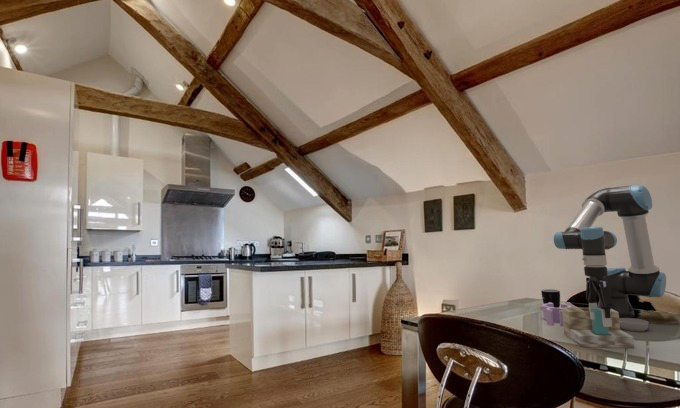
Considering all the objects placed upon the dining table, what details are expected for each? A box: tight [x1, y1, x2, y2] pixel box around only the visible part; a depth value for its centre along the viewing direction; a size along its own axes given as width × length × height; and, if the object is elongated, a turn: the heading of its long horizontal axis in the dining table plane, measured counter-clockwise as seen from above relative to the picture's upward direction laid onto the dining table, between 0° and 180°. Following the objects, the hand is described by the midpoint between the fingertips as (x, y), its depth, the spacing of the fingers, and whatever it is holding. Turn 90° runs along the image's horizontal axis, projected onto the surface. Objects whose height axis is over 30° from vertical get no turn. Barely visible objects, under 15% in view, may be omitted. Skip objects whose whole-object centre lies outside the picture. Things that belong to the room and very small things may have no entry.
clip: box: [541, 302, 573, 327], centre depth 182 cm, size 20×12×7 cm, turn 148°
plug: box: [590, 309, 609, 335], centre depth 147 cm, size 5×4×12 cm
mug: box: [541, 288, 561, 308], centre depth 206 cm, size 12×9×10 cm
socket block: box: [562, 307, 635, 349], centre depth 151 cm, size 18×18×11 cm
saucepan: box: [619, 317, 649, 332], centre depth 164 cm, size 11×18×4 cm, turn 92°
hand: (600, 322), depth 146 cm, fingers open, 11 cm apart
